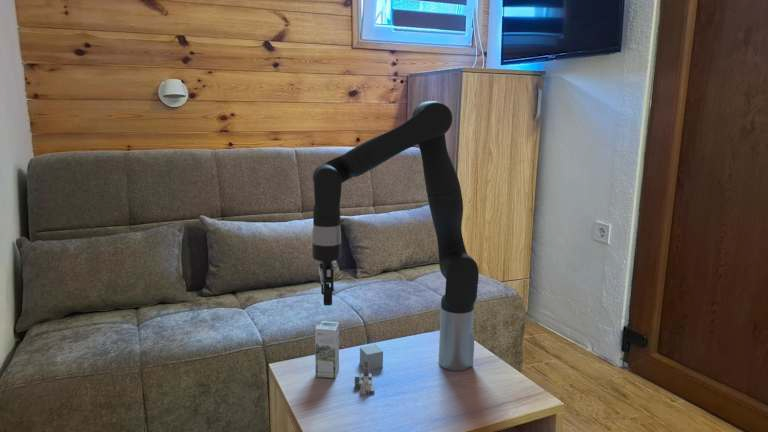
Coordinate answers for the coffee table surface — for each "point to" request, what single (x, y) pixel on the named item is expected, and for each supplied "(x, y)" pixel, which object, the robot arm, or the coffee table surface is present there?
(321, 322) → the syrup box
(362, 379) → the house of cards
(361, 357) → the grey block
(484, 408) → the coffee table surface
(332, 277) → the robot arm
